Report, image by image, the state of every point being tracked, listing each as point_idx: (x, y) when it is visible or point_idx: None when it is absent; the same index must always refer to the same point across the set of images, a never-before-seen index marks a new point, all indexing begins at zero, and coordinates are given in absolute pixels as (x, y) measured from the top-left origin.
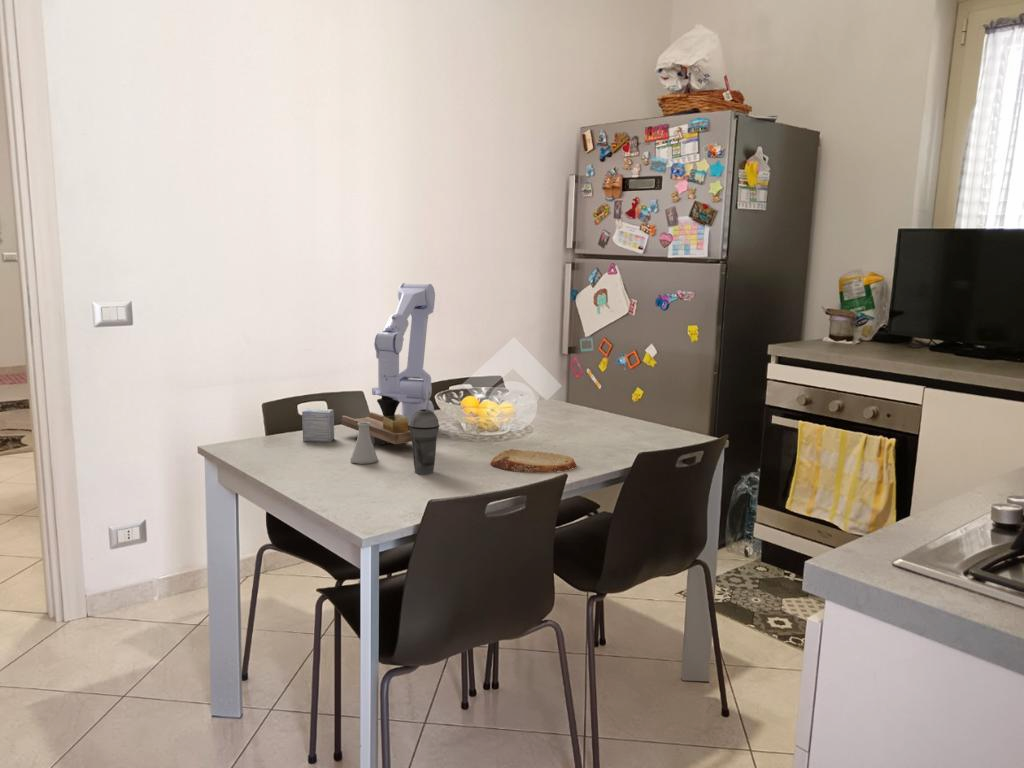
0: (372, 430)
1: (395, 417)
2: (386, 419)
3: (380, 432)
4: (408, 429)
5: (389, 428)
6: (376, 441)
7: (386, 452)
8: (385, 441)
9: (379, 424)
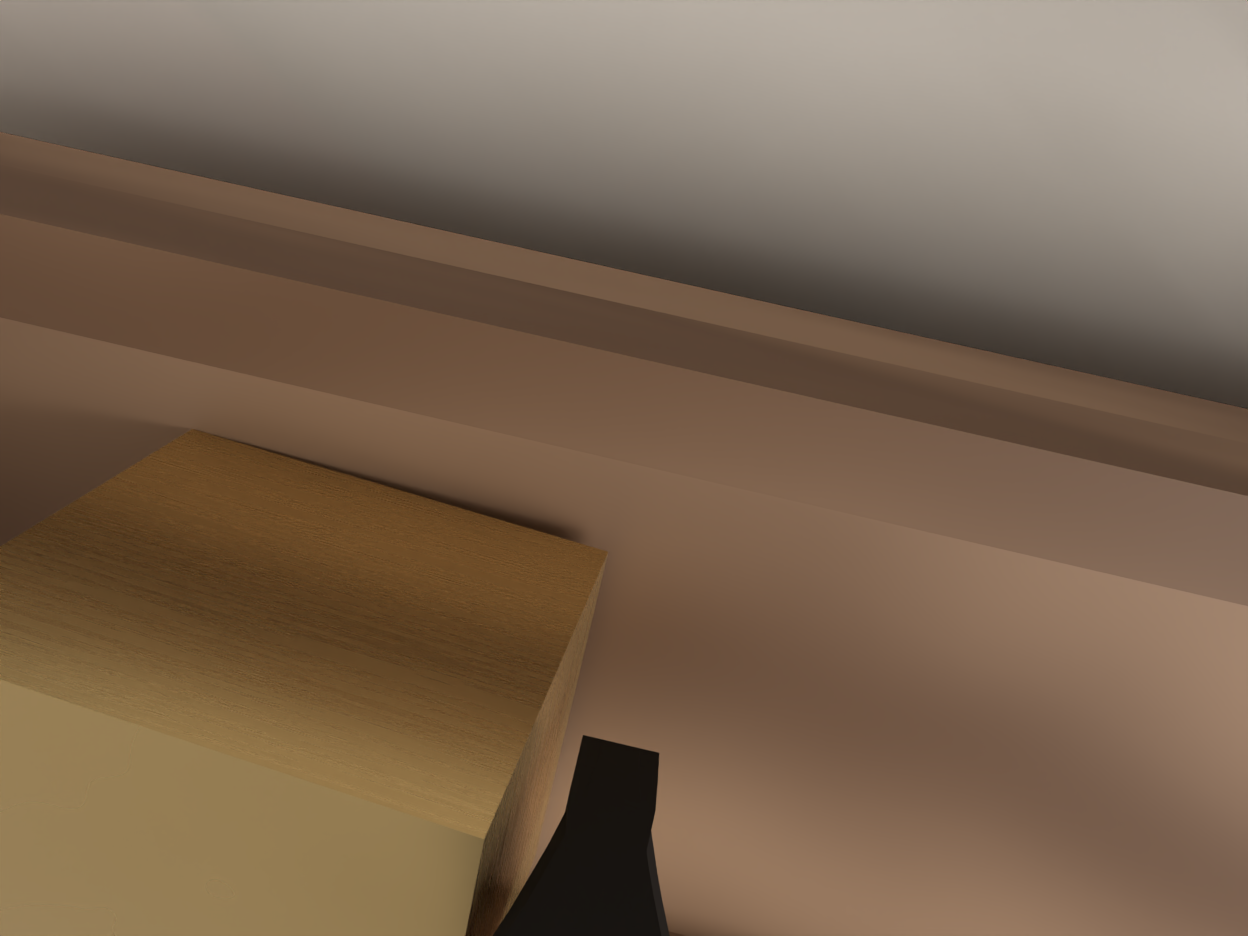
0: (759, 343)
1: (161, 924)
2: (311, 720)
3: (341, 260)
4: None
5: (251, 522)
6: None
7: (218, 85)
8: None
9: (1138, 910)
